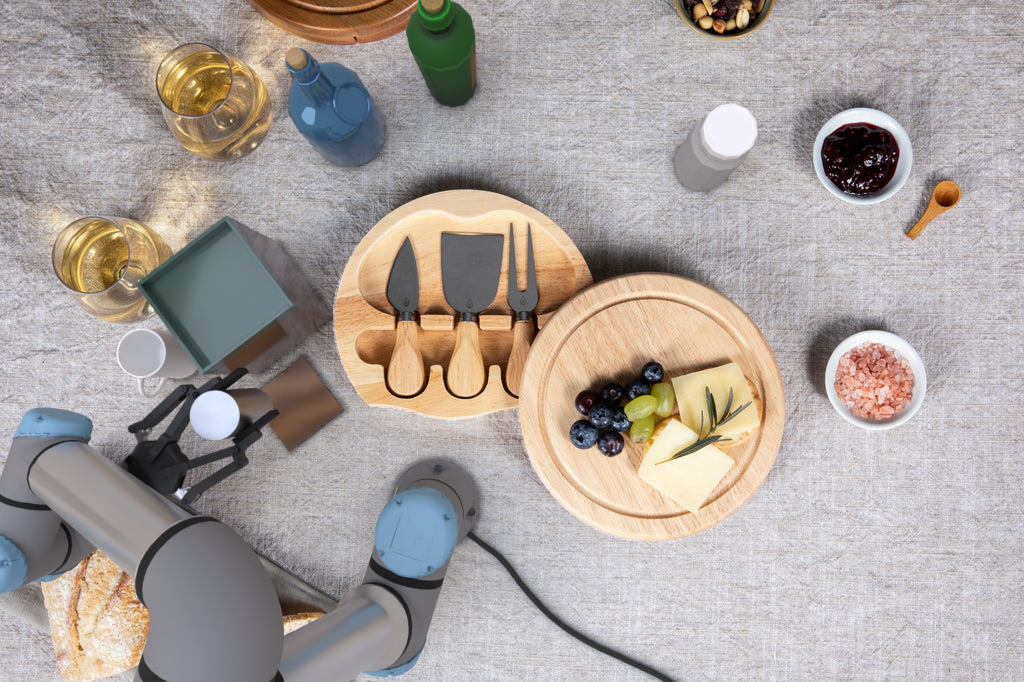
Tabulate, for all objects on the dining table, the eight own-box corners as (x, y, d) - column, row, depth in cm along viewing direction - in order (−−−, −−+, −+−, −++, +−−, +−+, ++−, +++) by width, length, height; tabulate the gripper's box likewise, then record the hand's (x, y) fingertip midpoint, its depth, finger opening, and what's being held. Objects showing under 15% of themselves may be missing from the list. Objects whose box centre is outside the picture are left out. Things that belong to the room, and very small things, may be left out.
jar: (722, 196, 119) (758, 165, 101) (668, 188, 119) (694, 155, 101) (730, 143, 119) (767, 103, 101) (676, 135, 119) (703, 93, 101)
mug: (188, 402, 119) (150, 405, 107) (143, 387, 119) (101, 389, 107) (209, 339, 119) (174, 335, 107) (164, 325, 119) (124, 319, 107)
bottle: (493, 75, 121) (484, -14, 93) (462, 124, 120) (444, 50, 92) (444, 45, 121) (420, -53, 93) (412, 94, 121) (379, 10, 93)
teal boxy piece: (333, 316, 119) (293, 304, 98) (257, 374, 119) (201, 374, 98) (277, 242, 120) (226, 214, 99) (202, 299, 120) (134, 284, 99)
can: (282, 414, 99) (249, 420, 87) (246, 441, 98) (209, 451, 86) (256, 378, 99) (219, 380, 87) (220, 405, 99) (179, 410, 87)
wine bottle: (306, 160, 120) (235, 90, 90) (325, 91, 121) (259, -2, 91) (379, 178, 120) (332, 113, 90) (397, 108, 121) (356, 20, 91)
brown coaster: (344, 410, 118) (343, 410, 118) (290, 451, 118) (289, 451, 117) (304, 356, 119) (303, 356, 118) (250, 397, 119) (249, 397, 118)
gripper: (100, 433, 95) (229, 335, 96) (180, 543, 94) (310, 444, 95) (64, 439, 88) (204, 332, 88) (151, 558, 87) (292, 451, 87)
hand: (259, 391), depth 91 cm, fingers closed on can, 7 cm apart
